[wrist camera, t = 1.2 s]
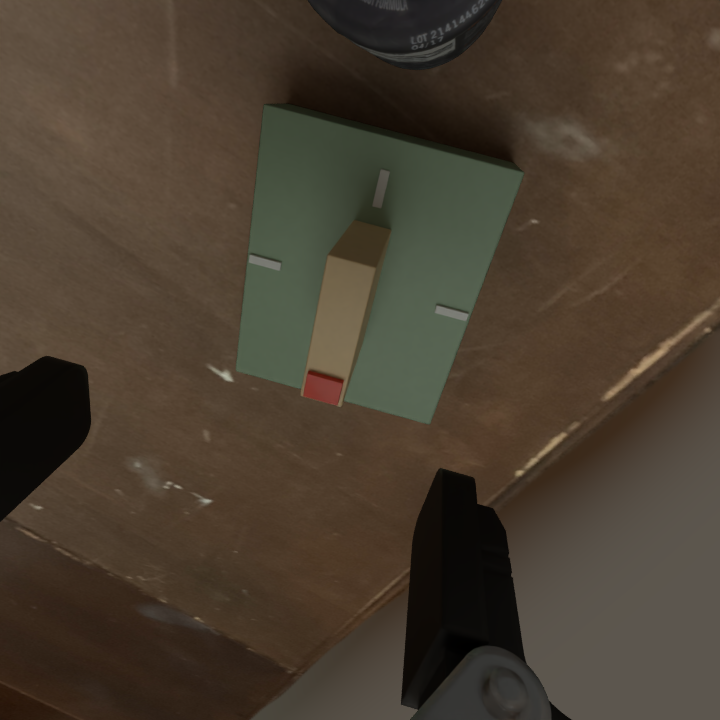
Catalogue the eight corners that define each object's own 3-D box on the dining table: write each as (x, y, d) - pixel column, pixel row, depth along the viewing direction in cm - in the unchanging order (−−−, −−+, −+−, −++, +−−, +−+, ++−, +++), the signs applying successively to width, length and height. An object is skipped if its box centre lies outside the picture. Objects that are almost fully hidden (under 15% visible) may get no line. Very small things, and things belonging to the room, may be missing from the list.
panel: (286, 103, 20) (261, 103, 17) (514, 162, 20) (525, 172, 17) (255, 344, 26) (233, 372, 23) (431, 392, 26) (429, 427, 23)
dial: (353, 219, 19) (325, 256, 15) (391, 229, 19) (375, 269, 14) (328, 337, 22) (297, 399, 17) (361, 346, 22) (340, 411, 17)
